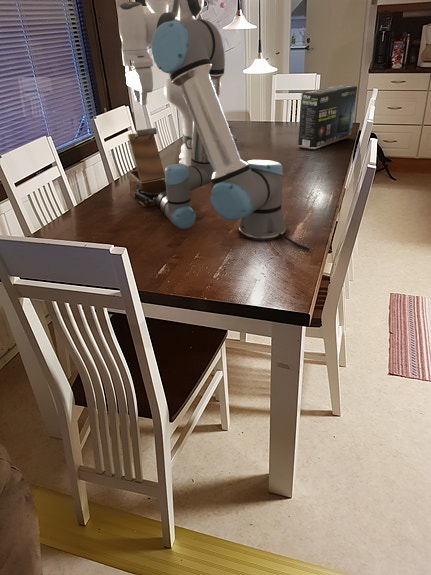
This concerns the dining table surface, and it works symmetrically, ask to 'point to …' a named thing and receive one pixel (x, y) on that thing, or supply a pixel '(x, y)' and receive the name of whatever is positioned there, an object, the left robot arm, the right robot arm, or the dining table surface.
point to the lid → (146, 154)
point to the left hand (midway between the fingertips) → (141, 103)
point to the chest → (146, 184)
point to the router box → (326, 115)
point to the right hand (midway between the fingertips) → (150, 186)
